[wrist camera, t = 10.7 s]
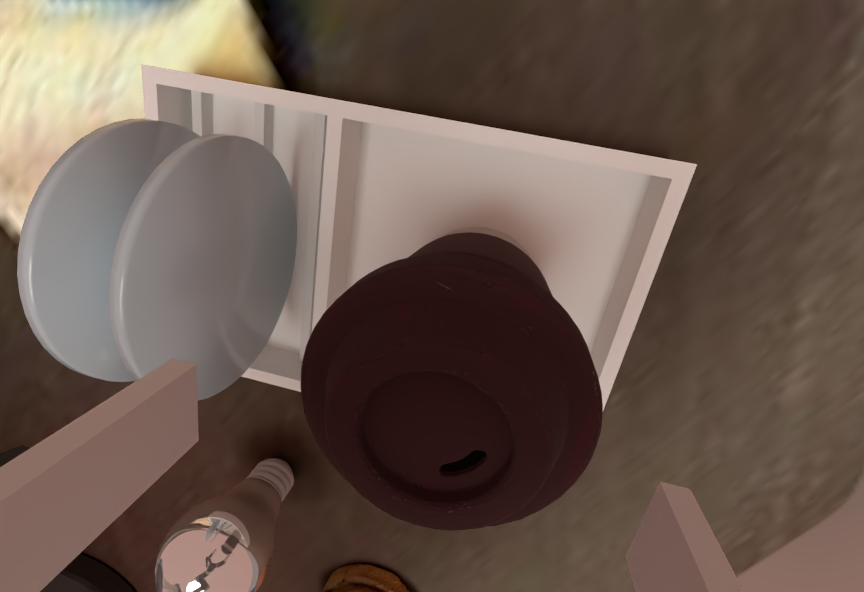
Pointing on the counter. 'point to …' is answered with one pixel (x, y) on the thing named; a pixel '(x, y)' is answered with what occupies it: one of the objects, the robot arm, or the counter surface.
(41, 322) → the plates
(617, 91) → the counter surface
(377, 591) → the burger
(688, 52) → the counter surface
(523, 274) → the coffee cup
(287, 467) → the light bulb
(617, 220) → the white tray
